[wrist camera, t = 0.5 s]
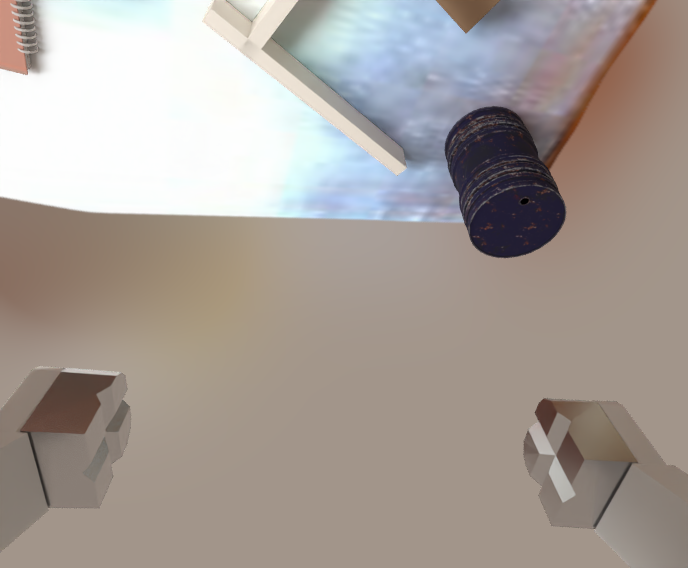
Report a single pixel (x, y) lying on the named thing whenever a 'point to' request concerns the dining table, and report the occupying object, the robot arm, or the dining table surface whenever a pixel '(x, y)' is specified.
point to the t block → (467, 11)
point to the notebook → (15, 36)
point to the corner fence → (299, 75)
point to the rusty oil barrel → (502, 184)
